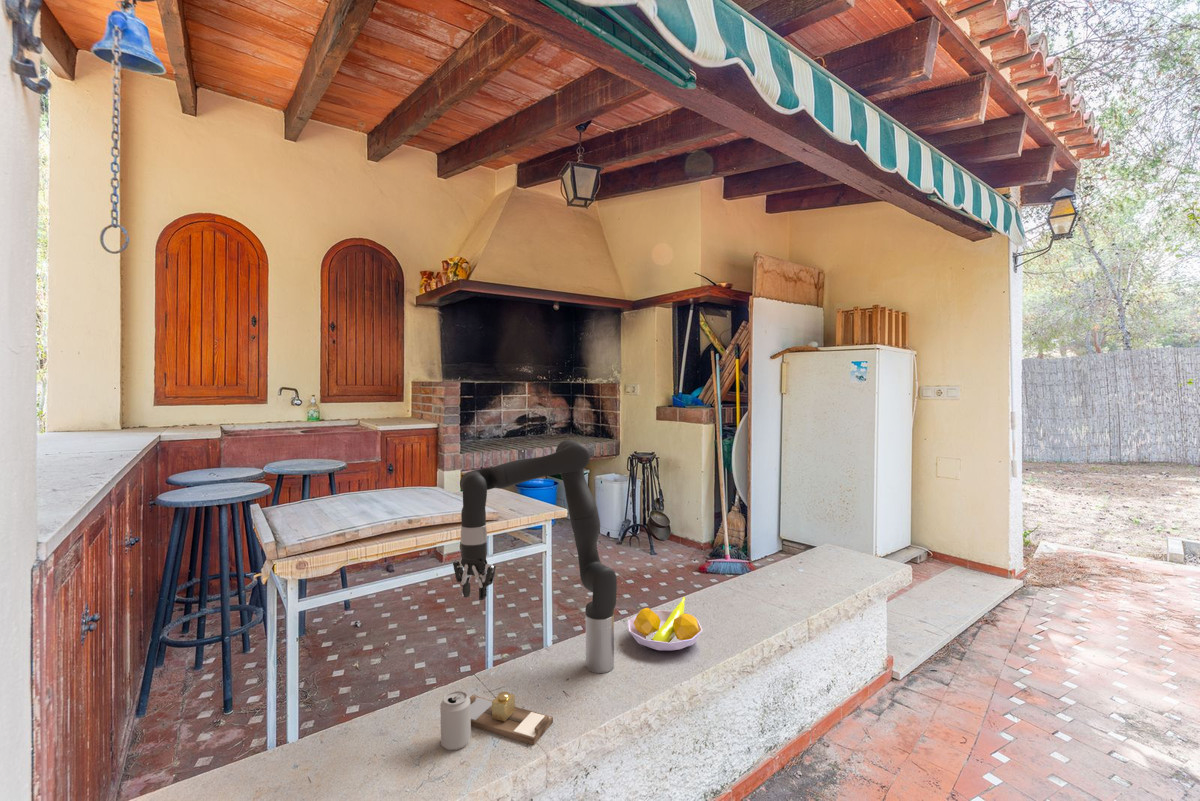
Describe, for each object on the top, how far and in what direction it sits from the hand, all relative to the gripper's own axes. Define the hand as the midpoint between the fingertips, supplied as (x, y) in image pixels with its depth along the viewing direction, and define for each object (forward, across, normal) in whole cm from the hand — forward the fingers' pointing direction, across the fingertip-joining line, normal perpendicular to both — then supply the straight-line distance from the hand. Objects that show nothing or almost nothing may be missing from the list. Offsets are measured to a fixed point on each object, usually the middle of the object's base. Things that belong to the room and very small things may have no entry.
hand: (474, 597), depth 157 cm
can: (+30, -8, +19) cm, 36 cm away
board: (+29, -14, +7) cm, 33 cm away
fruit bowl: (+30, -42, -56) cm, 76 cm away
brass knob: (+27, -15, +7) cm, 32 cm away
